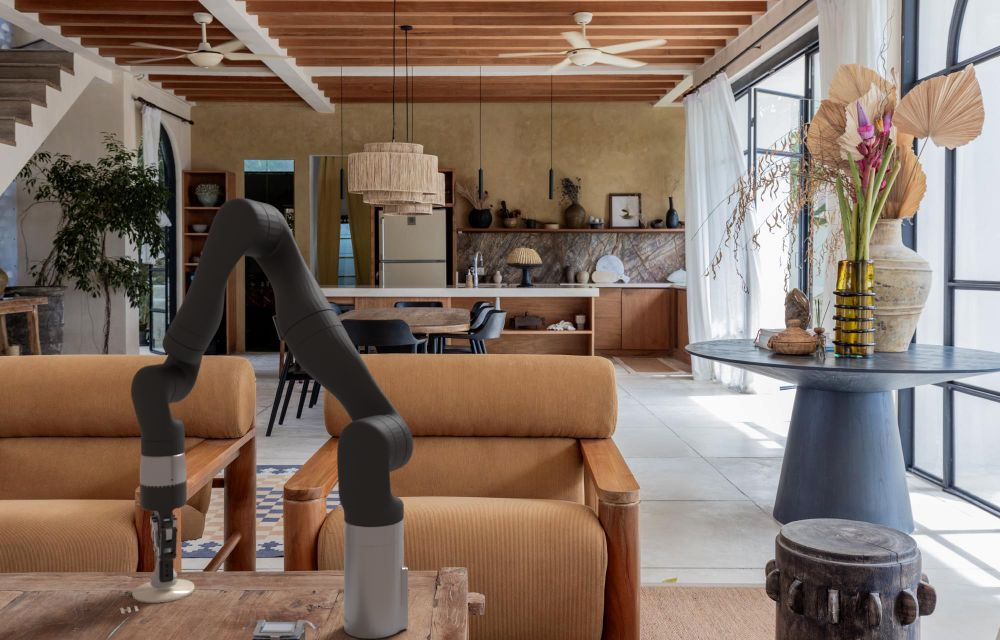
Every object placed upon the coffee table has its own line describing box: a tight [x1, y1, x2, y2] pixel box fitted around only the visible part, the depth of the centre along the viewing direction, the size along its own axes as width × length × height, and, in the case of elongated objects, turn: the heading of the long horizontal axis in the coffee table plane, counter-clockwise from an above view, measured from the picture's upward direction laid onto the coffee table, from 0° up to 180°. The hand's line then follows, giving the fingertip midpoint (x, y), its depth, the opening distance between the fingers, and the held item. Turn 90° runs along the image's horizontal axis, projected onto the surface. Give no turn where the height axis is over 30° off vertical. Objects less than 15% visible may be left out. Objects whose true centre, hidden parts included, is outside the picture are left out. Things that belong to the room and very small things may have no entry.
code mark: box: [119, 605, 139, 615], centre depth 141 cm, size 2×2×1 cm
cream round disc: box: [132, 578, 195, 604], centre depth 149 cm, size 10×10×1 cm
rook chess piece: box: [150, 539, 179, 588], centre depth 149 cm, size 4×4×8 cm
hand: (164, 576), depth 149 cm, fingers closed on rook chess piece, 4 cm apart
